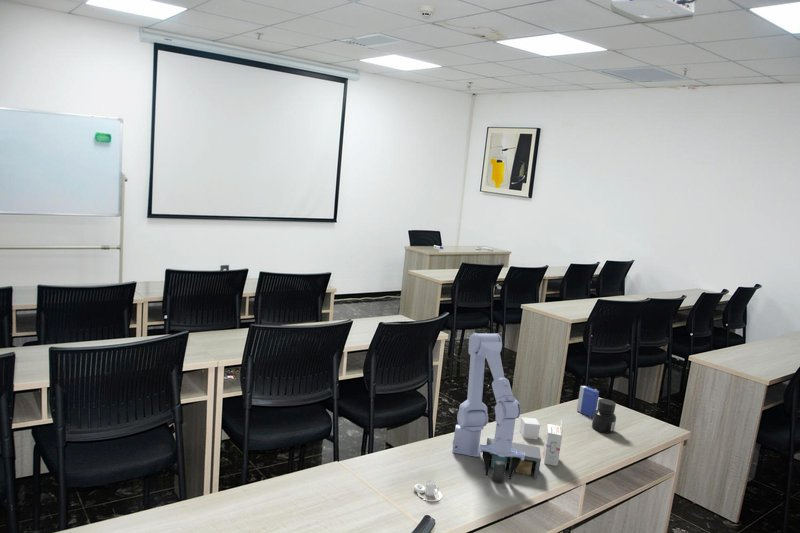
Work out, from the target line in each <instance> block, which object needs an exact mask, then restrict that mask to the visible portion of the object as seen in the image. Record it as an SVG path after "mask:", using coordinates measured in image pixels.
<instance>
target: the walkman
mask: <svg viewBox="0 0 800 533" xmlns="http://www.w3.org/2000/svg"><path fill="white" fill-rule="evenodd" d="M599 396H600V390H598V389H596V388H594V389H593V388H592V387H590V386H586V385H580V387H579V394H578V399H577V400H578V401H577V405H576V406H577V407H576V412H577V411H579V412H581V413H580V414H582V413H583V414H582V415H584V414H586V415H585V416H587V415H588V416H587V417H589V416H590V417H589V418H593V415H594V412H595V411H596V410H597V409H598V401H599ZM579 412H578V413H579Z"/></svg>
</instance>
